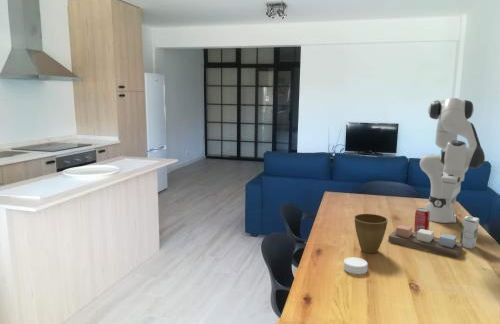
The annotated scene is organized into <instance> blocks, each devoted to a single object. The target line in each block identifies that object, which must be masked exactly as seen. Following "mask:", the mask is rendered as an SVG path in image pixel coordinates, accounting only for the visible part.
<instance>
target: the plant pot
mask: <svg viewBox="0 0 500 324" xmlns="http://www.w3.org/2000/svg"><path fill="white" fill-rule="evenodd" d="M354 225H355V231H356V237H357V240H358V243H359V247H360V250H361V251H362V252H364V253H367V254H376V253H377V252H378V251H379V249H380V247H381V244H382V242H383V240H384V236H385V234H386V230H387V227H388V226H387V225H388V218H387V217H386V216H383V215H380V214H375V213H359V214H356V215H355V216H354Z"/></svg>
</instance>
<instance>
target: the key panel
mask: <svg viewBox="0 0 500 324" xmlns="http://www.w3.org/2000/svg"><path fill="white" fill-rule="evenodd" d="M439 239H440V237H435V236H433V240H432V241H431V242H430V243H429V242H424V241H420V240H417V233H416V232H414V231H412V235H411V236H410V237H409V238H407V237H402V236H398V235H396V229H395V230H394V231H393V232H391V233H390V234H389V235H388V240H387V242H389V243H394V244H397V245H401V246H405V247H410V248H414V249H417V250H422V251H427V252H430V253H435V254H439V255H443V256H447V257H451V258H455V259H456V258H458V257H459V255H460V253H461V252H462V250H463V247H462V246H463V243H460V241H459V242H458V241H456V244H455V246H454V247H453V248H451V247H447V246H442V245H439Z"/></svg>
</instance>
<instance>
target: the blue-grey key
mask: <svg viewBox="0 0 500 324" xmlns="http://www.w3.org/2000/svg"><path fill="white" fill-rule="evenodd" d="M439 238H440V239H439V245H442V246H447V247H451V248H453V247H454V246H455V244H456V242H457V236H456V235H453V234H449V233H441V235H440V236H439Z"/></svg>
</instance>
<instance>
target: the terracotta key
mask: <svg viewBox="0 0 500 324" xmlns="http://www.w3.org/2000/svg"><path fill="white" fill-rule="evenodd" d="M395 230H396V235H398V236H402V237H407V238H409V237H410V236H411V235H412V232H413V226H409V225H404V224H398V226H397V227H396V229H395Z"/></svg>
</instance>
